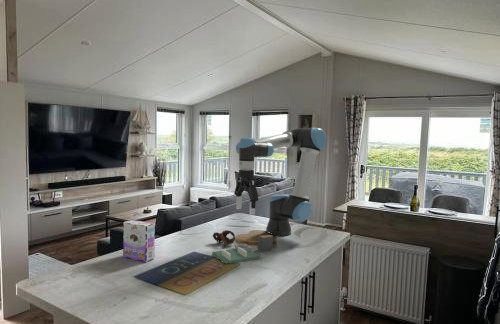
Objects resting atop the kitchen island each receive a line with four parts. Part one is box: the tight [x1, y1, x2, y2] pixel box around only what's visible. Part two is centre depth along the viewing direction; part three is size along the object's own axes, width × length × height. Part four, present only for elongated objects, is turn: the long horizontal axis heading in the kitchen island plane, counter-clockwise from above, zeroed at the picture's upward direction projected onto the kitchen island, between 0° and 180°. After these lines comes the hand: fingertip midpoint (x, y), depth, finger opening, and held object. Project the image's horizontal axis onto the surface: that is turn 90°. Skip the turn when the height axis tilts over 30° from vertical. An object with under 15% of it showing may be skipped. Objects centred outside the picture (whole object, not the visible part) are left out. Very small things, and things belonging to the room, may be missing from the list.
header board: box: [212, 243, 261, 264], centre depth 160 cm, size 18×14×4 cm
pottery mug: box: [212, 230, 236, 248], centre depth 177 cm, size 12×10×8 cm
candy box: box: [122, 219, 156, 263], centre depth 152 cm, size 14×6×16 cm, turn 65°
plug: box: [257, 234, 274, 253], centre depth 170 cm, size 6×4×8 cm, turn 121°
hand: (245, 211), depth 168 cm, fingers open, 13 cm apart
